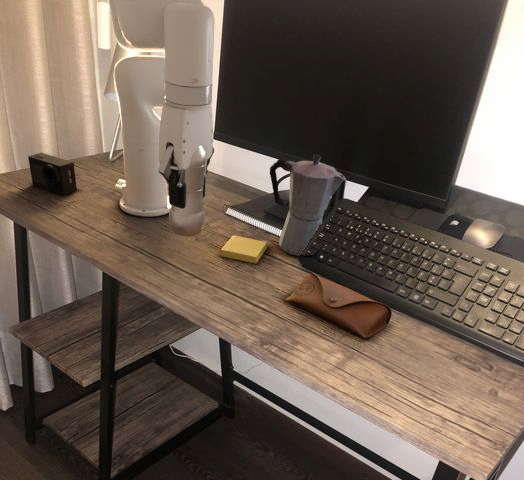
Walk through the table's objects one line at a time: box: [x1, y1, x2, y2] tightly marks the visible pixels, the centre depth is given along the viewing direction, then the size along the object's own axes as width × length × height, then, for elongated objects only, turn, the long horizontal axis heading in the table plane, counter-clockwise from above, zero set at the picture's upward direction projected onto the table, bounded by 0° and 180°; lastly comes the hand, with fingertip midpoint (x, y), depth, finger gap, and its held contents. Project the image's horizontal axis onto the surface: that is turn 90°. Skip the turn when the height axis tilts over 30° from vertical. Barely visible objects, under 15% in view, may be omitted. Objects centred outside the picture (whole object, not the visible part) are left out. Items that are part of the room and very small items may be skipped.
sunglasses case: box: [284, 271, 392, 339], centre depth 99 cm, size 18×7×7 cm, turn 52°
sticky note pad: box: [220, 235, 268, 265], centre depth 115 cm, size 8×8×2 cm
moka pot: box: [269, 154, 347, 257], centre depth 113 cm, size 10×15×20 cm, turn 78°
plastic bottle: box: [168, 146, 208, 238], centre depth 98 cm, size 6×7×20 cm
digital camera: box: [27, 152, 78, 196], centre depth 132 cm, size 10×5×7 cm, turn 61°
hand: (187, 200), depth 100 cm, fingers closed on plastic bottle, 5 cm apart
